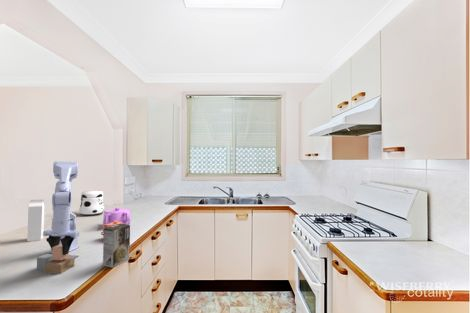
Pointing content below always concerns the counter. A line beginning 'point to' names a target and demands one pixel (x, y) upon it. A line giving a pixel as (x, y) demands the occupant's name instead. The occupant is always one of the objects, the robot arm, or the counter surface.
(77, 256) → the tile
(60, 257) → the terracotta block
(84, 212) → the milk container
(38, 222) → the milk
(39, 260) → the grey block
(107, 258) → the coffee box
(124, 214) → the teakettle
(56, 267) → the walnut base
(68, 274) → the counter surface
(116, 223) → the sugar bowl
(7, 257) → the counter surface
